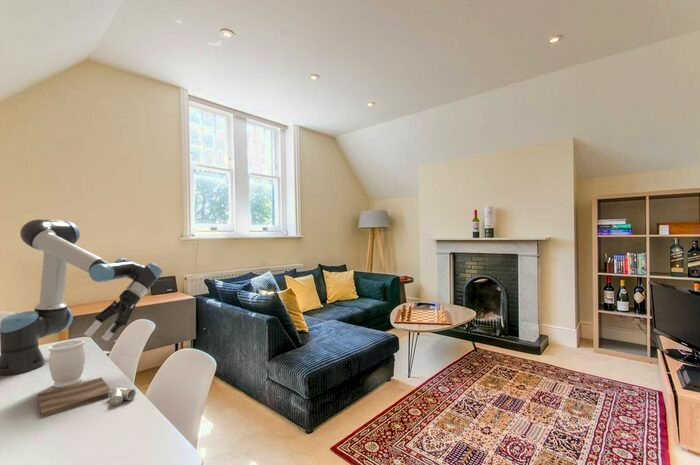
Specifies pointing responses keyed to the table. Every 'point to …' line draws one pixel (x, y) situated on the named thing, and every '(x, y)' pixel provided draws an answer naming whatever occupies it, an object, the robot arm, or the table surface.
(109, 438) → the table surface
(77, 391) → the walnut board
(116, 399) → the pipe fitting
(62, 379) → the jar
